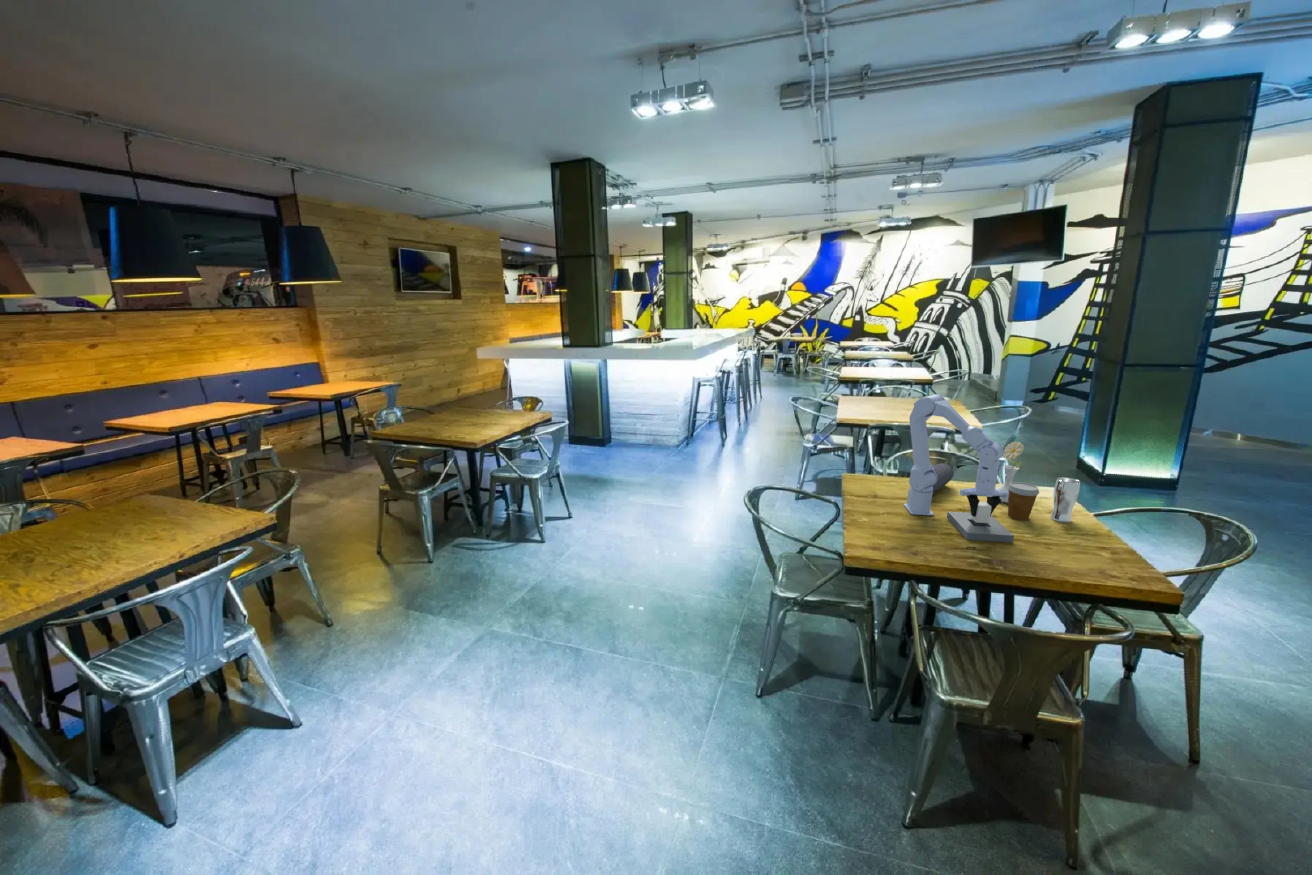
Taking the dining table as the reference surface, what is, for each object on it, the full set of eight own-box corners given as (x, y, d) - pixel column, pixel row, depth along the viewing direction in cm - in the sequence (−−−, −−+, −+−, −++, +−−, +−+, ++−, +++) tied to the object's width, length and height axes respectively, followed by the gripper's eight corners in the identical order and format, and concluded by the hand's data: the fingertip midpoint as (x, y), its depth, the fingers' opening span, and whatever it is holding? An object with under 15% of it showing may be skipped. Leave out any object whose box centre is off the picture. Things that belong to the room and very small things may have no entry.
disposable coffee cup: (1040, 522, 185) (1046, 490, 182) (1013, 522, 185) (1019, 490, 182) (1021, 511, 194) (1027, 481, 191) (996, 511, 194) (1002, 481, 191)
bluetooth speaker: (929, 481, 227) (932, 459, 224) (953, 486, 220) (956, 464, 218) (909, 494, 212) (912, 471, 209) (933, 500, 205) (936, 477, 203)
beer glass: (1069, 517, 189) (1077, 478, 185) (1075, 524, 183) (1083, 484, 179) (1046, 514, 192) (1054, 475, 188) (1051, 521, 186) (1059, 481, 182)
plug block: (971, 517, 180) (973, 501, 179) (983, 518, 180) (986, 502, 178) (976, 522, 177) (978, 506, 175) (988, 523, 176) (991, 506, 174)
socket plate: (946, 517, 189) (947, 511, 188) (988, 520, 187) (989, 513, 186) (966, 539, 172) (967, 532, 171) (1012, 542, 170) (1014, 535, 169)
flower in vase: (985, 493, 212) (995, 434, 206) (1017, 496, 209) (1028, 437, 202) (994, 505, 200) (1005, 443, 194) (1028, 508, 197) (1041, 445, 190)
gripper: (968, 481, 172) (962, 519, 175) (1016, 483, 169) (1009, 521, 173) (959, 474, 179) (954, 511, 182) (1005, 476, 176) (999, 513, 180)
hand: (980, 515), depth 178 cm, fingers closed on plug block, 4 cm apart
